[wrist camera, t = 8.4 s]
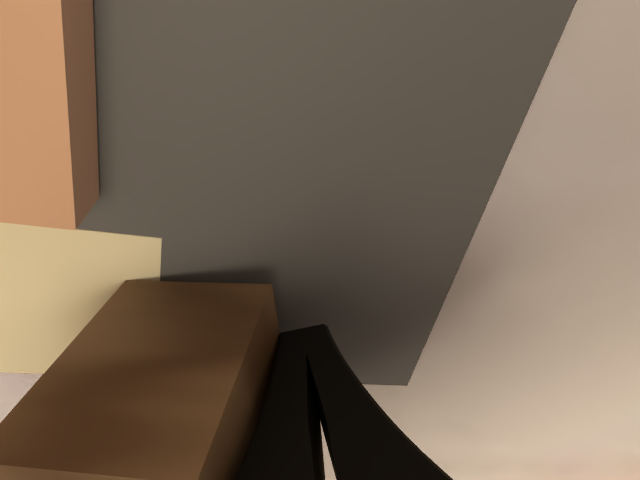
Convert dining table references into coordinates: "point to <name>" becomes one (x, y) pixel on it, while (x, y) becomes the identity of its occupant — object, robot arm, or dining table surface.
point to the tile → (47, 113)
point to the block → (150, 388)
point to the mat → (288, 164)
